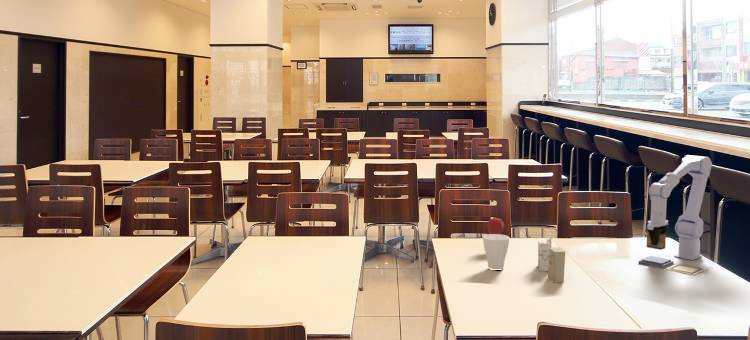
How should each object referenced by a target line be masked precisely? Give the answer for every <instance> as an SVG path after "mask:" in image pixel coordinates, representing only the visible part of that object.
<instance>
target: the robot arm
mask: <svg viewBox="0 0 750 340" xmlns="http://www.w3.org/2000/svg"><path fill="white" fill-rule="evenodd" d="M712 165H713V163H712V160H711V159H710V157H709V156H701V155H690V154H687V155H684V157H683V158H682V159H681V164H679V165H678V167H677V168H676V169H675V170H674V171H673V172H667V173H666V174H665V176H663V177H662V178H661V179H660V180H658V182H653V183H652V184H651V185H649V188H648V194H649V196H650V197H649V199H650V201H651V203H650V204H651V207H650V209H651V210H650V220H647V223H648V224H647V227H646V232H647V233H649V235H650V239H651V244H652V245H656V246H657V245H658V240H659V236H660V233H663V234H667V232H668V230H669V229H670V227H669V226H668V225H669V220H668V219H667V205H668V204H667V202H668V198H669V197H670V196H671V192H672V191H673V189H674V188H675V187H676V186H677V185H678V184H679V183H680V179H681V178H683V176H685V175H687V174H689V175H690V176H691V177H692V182H691V187H690V191H689V194H688V195H689V196H688V199H687V200H688V201H687V205H686V208H685V212H684V214H681V215H680V216H678V219H677V222H676V223H675V226H674V231H675V233H676V234H677V236H678V251H677V252H678V253H677V254H675V255H674V257H676V258H679V259H685V260H691V261H694V260H697V259H699V258H701V257H702V256H703V255H702V254H701V240H700V239H701V236H702V235H703V233H704V220H703V219H702V218H700V216H699V215H700V211H701V206H702V203H703V198H704V194H705V191H706V187H707V186H706V185H707V181H708V179H709V177H710V174H711V169H712Z"/></svg>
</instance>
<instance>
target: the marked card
mask: <svg viewBox="0 0 750 340" xmlns="http://www.w3.org/2000/svg"><path fill="white" fill-rule="evenodd" d="M665 271H671V272H676V273H679V274H680V273H681V274H685V275H691V276H696V275H698V274H700V273H702V272H704V271H706V268H701V267H697V266H691V265H686V264H681V263H676V264H672V265H670V266H668V267H666V269H665Z"/></svg>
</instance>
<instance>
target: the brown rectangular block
mask: <svg viewBox="0 0 750 340" xmlns="http://www.w3.org/2000/svg"><path fill="white" fill-rule="evenodd" d="M666 234H667V233H666ZM666 234H663V233H660V236H659V240H658V245H657V246H656V245H652V244H651V239H650V235H649V233H648V232H647V233H646V248H649V249H654V250H660V251H662V250H665V249H666V240H667V239H666V237H667V235H666Z"/></svg>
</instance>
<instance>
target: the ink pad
mask: <svg viewBox="0 0 750 340" xmlns="http://www.w3.org/2000/svg"><path fill="white" fill-rule="evenodd" d="M638 264H639V265H643V266H648V267H653V268H658V269H664V268H668V267H671V266H673V265H674V260H671V259H669V258H664V257H659V256H655V255H649V256H647V257H644V258H642V259H639V260H638Z"/></svg>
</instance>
